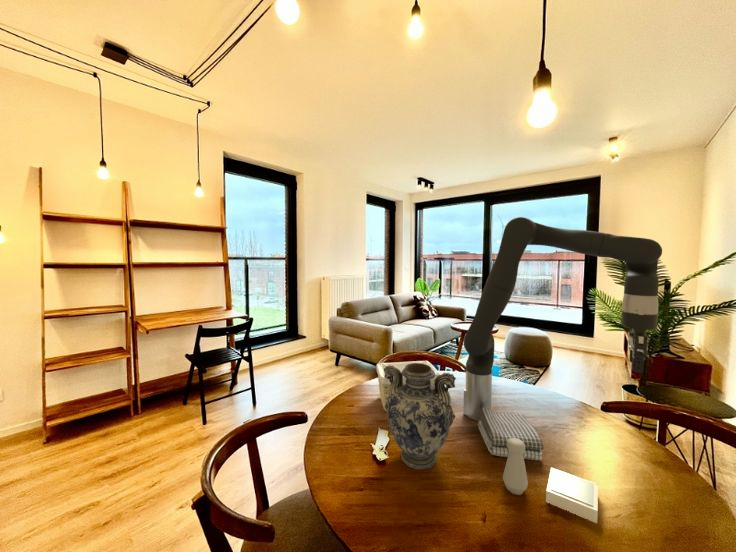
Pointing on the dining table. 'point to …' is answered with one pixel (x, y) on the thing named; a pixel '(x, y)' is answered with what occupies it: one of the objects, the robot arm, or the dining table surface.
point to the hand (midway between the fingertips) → (636, 367)
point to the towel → (509, 433)
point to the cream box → (385, 383)
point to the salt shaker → (515, 467)
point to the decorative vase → (419, 412)
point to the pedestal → (573, 494)
